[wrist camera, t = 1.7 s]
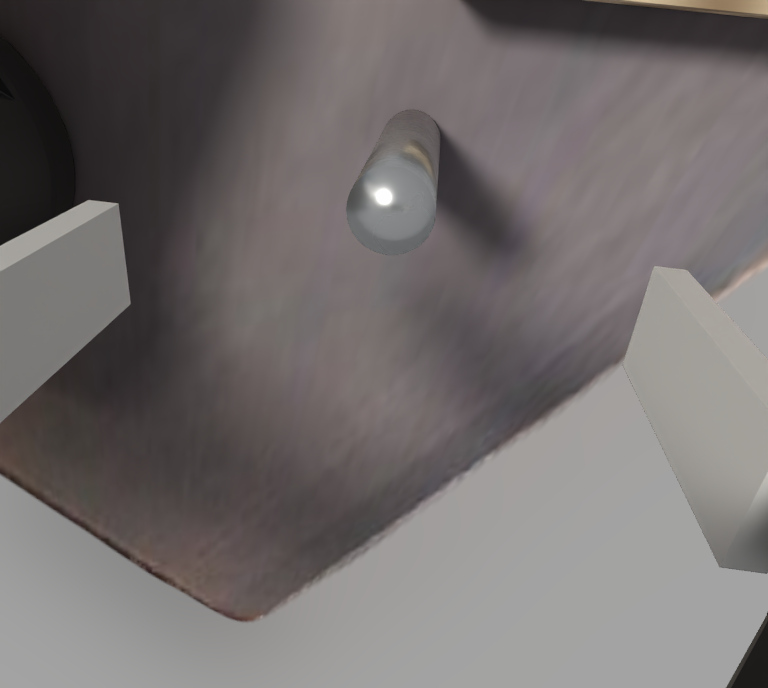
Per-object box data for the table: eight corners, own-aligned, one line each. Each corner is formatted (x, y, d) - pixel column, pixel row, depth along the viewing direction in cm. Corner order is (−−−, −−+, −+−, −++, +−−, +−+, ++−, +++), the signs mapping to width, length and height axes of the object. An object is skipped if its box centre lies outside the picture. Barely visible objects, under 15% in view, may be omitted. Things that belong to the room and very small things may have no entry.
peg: (380, 166, 33) (344, 249, 21) (385, 106, 31) (349, 162, 20) (436, 172, 33) (429, 259, 21) (444, 112, 31) (441, 172, 20)
